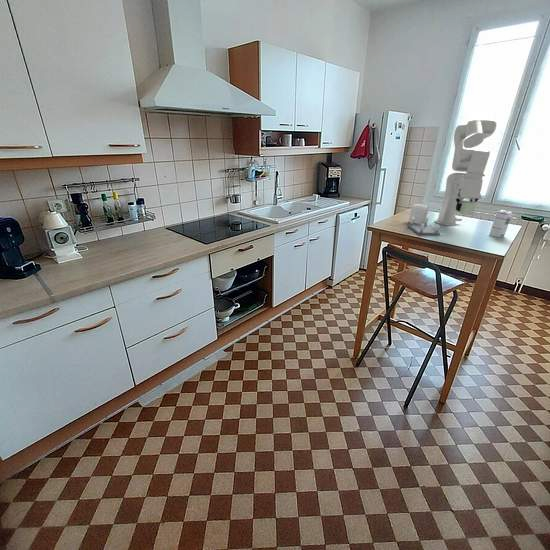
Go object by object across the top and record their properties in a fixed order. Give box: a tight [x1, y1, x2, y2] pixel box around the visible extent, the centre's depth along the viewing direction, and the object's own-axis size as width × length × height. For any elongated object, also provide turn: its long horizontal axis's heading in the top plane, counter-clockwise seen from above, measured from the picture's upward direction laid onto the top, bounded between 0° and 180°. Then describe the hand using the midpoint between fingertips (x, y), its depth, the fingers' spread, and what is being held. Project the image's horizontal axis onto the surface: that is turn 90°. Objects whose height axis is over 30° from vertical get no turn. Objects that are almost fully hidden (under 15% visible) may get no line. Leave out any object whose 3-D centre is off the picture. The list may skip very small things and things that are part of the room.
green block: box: [453, 198, 477, 216], centre depth 159 cm, size 5×11×6 cm, turn 178°
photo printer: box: [408, 203, 429, 225], centre depth 190 cm, size 10×4×12 cm, turn 39°
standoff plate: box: [407, 217, 441, 236], centre depth 176 cm, size 12×17×6 cm
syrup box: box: [489, 209, 513, 238], centre depth 169 cm, size 6×6×14 cm
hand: (463, 210), depth 160 cm, fingers closed on green block, 5 cm apart
